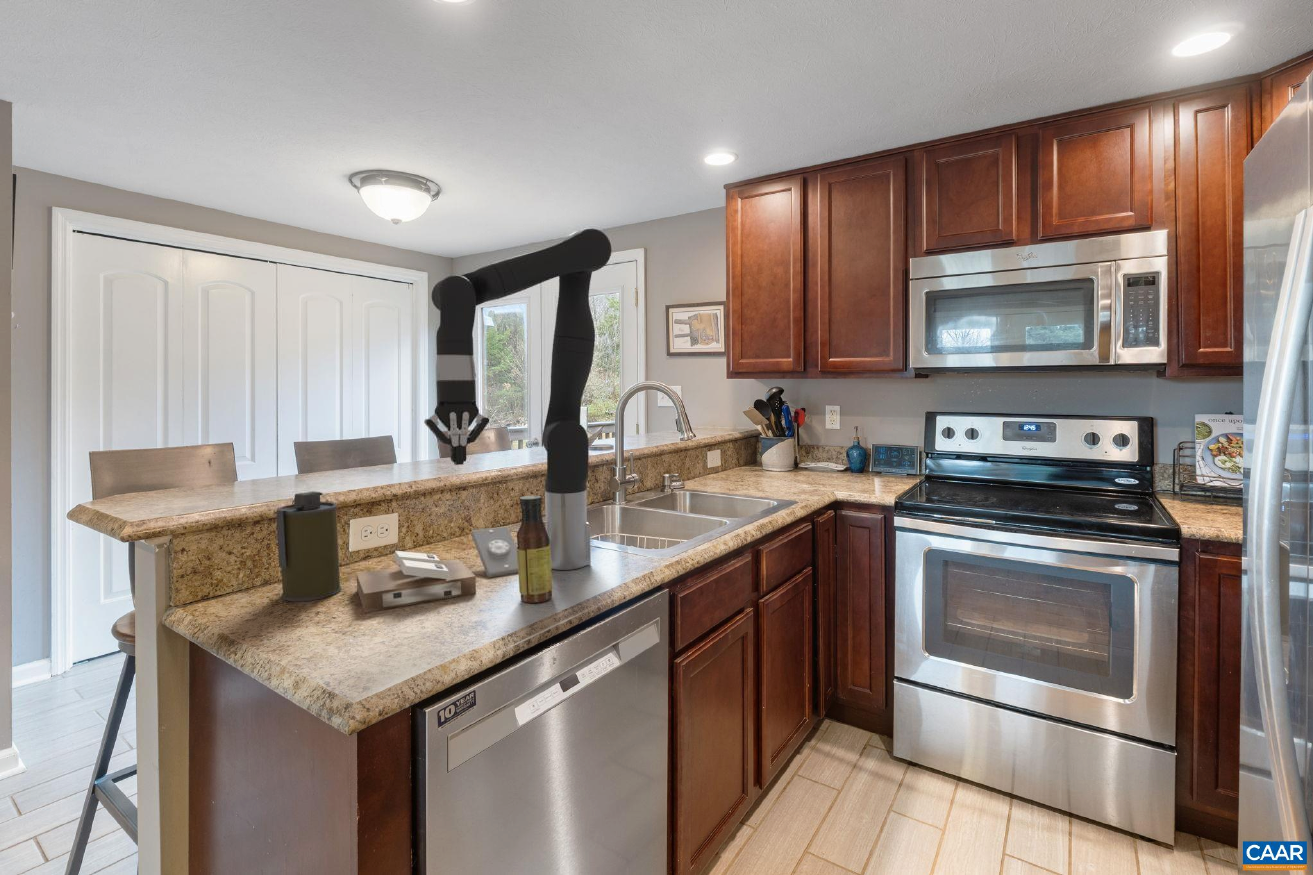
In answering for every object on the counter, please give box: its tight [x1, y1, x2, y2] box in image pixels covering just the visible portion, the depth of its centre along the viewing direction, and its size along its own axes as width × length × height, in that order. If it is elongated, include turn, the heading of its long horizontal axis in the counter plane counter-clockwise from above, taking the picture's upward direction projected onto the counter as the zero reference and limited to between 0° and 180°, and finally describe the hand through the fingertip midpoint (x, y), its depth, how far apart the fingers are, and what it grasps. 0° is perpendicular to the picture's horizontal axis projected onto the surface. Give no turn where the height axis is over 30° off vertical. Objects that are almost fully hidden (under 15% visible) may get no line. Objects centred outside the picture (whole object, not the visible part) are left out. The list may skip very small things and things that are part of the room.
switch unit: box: [355, 558, 477, 613], centre depth 124 cm, size 20×15×4 cm
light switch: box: [470, 525, 518, 578], centre depth 142 cm, size 8×6×14 cm
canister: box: [275, 491, 342, 603], centre depth 123 cm, size 11×10×20 cm
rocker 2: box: [399, 560, 449, 579], centre depth 121 cm, size 8×5×2 cm, turn 122°
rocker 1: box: [393, 550, 441, 565], centre depth 128 cm, size 8×5×2 cm, turn 122°
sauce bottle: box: [516, 494, 553, 604], centre depth 120 cm, size 6×6×20 cm
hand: (458, 464), depth 127 cm, fingers closed
